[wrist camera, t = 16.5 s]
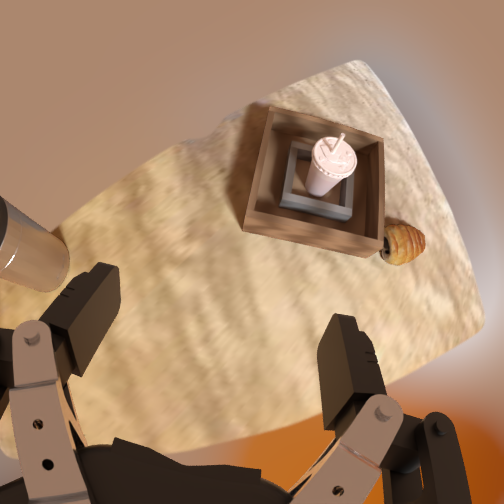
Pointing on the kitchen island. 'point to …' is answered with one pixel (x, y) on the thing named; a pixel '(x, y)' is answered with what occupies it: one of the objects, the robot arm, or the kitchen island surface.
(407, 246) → the pastry
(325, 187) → the smoothie
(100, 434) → the kitchen island surface
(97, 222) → the kitchen island surface
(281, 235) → the crate
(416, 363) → the kitchen island surface
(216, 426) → the kitchen island surface
